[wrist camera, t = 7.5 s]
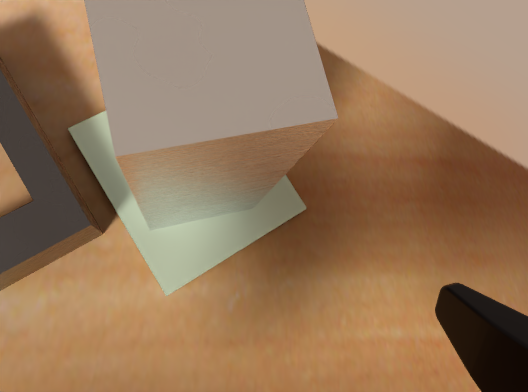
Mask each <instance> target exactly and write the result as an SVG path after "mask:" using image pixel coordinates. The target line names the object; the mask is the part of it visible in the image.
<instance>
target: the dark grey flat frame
mask: <svg viewBox="0 0 528 392" xmlns="http://www.w3.org/2000/svg"><path fill="white" fill-rule="evenodd" d="M0 143H1V144H2V146H3V148H4V150H5V151H6V153H7V155H8V157H9V158H10V160H11V162H12V164H13V165H14V167H15V169H16V171H17V172H18V174H19V176H20V178H21V179H22V181H23V183H24V185H25V186H26V188H27V190H28V192H29V193H30V195H31V197H32V199H33V200H34V201H32V202H30V203H28V204H26V205H24V206H22V207H20V208H18V209H16V210H14V211H12V212H10V213H8V214H7V215H5V216H3V217H1V218H0V291H1V290H2V289H4V288H6V287H8V286H10V285H11V284H13V283H15V282H17V281H19V280H21V279H22V278H24V277H26V276H28V275H30V274H31V273H33V272H35V271H37V270H39V269H40V268H42V267H44V266H46V265H48V264H50V263H51V262H53V261H55V260H57V259H59V258H60V257H62V256H64V255H66V254H68V253H69V252H71V251H73V250H75V249H77V248H79V247H80V246H82V245H84V244H86V243H88V242H89V241H91V240H93V239H95V238H97V237H98V236H100V235H102V234H103V233H102V231H101V230H100V228H99V226H98V224H97V223H96V221H95V219H94V218H93V216H92V214H91V212H90V211H89V209H88V207H87V206H86V204H85V202H84V200H83V199H82V197H81V195H80V194H79V192H78V190H77V188H76V187H75V185H74V183H73V182H72V180H71V178H70V176H69V175H68V173H67V171H66V170H65V168H64V166H63V164H62V163H61V161H60V159H59V158H58V156H57V154H56V152H55V151H54V149H53V147H52V146H51V144H50V142H49V140H48V139H47V137H46V135H45V134H44V132H43V130H42V128H41V127H40V125H39V123H38V122H37V120H36V118H35V116H34V115H33V113H32V111H31V110H30V108H29V106H28V104H27V103H26V101H25V99H24V98H23V96H22V94H21V92H20V91H19V89H18V87H17V86H16V84H15V82H14V80H13V79H12V77H11V75H10V74H9V72H8V70H7V68H6V67H5V65H4V63H3V62H2V60H1V58H0Z"/></svg>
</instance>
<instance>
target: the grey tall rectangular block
mask: <svg viewBox="0 0 528 392" xmlns="http://www.w3.org/2000/svg"><path fill="white" fill-rule="evenodd" d="M84 1H85V6H86V12H87V17H88V22H89V27H90V32H91V37H92V42H93V47H94V52H95V57H96V62H97V67H98V72H99V77H100V82H101V88H102V93H103V98H104V103H105V108H106V113H107V118H108V123H109V128H110V133H111V138H112V143H113V148H114V153H115V157H116V160H117V162H118V164H119V166H120V168H121V170H122V172H123V174H124V176H125V179H126V181H127V183H128V185H129V187H130V189H131V191H132V193H133V196H134V198H135V200H136V202H137V204H138V206H139V208H140V210H141V212H142V215H143V217H144V219H145V221H146V223H147V225H148V227H149V229H150V231H151V230H156V229H160V228H165V227H170V226H174V225H179V224H183V223H188V222H193V221H197V220H202V219H206V218H211V217H216V216H220V215H225V214H229V213H234V212H239V211H243V210H248V209H252V208H254V207H255V206H256V205H257V204H258V203H259V202H260V201H261V200H262V199H263V198H264V197H265V196H266V194H267V193H268V192H269V191H270V190H271V189H272V188H273V187H274V186H275V185H276V184H277V183H278V182H279V181H280V180H281V179H282V177H283V176H284V175H285V174H286V173H287V172H288V171H289V170H290V169H291V168H292V167H293V166H294V165H295V164H296V163H297V162H298V160H299V159H300V158H301V157H302V156H303V155H304V154H305V153H306V152H307V151H308V150H309V149H310V148H311V147H312V146H313V145H314V143H315V142H316V141H317V140H318V139H319V138H320V137H321V136H322V135H323V134H324V133H325V132H326V131H327V130H328V129H329V128H330V126H331V125H332V124H333V123H334V122H335V121H336V120H337V119H338V115H337V112H336V109H335V105H334V102H333V98H332V95H331V92H330V88H329V85H328V81H327V78H326V74H325V71H324V68H323V64H322V61H321V57H320V54H319V51H318V47H317V44H316V40H315V37H314V34H313V31H312V27H311V24H310V21H309V16H308V13H307V10H306V6H305V3H304V0H84Z"/></svg>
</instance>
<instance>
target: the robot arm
mask: <svg viewBox="0 0 528 392" xmlns="http://www.w3.org/2000/svg"><path fill="white" fill-rule="evenodd" d="M435 313H436V316H437V319H438V321H439V322H440V324H441V326H442V328H443V329H444V331H445V333H446V335H447V336H448V338H449V340H450V342H451V343H452V345H453V347H454V348H455V350H456V352H457V354H458V355H459V357H460V359H461V361H462V362H463V364H464V366H465V367H466V369H467V371H468V372H469V374H470V376H471V377H472V378H473V380H474V381H475V383H476V384H477V386H478V387H479V389H480V390H481V391H482V392H528V316H526V315H524V314H522V313H520V312H518V311H516V310H514V309H512V308H510V307H508V306H506V305H503V304H501V303H499V302H497V301H495V300H493V299H491V298H489V297H487V296H485V295H483V294H481V293H479V292H477V291H475V290H473V289H471V288H469V287H467V286H465V285H463V284H460V283H452V284H449V285H446V286H443V287H442V288H441V290H440V293H439V296H438V300H437V303H436V307H435Z"/></svg>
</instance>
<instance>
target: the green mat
mask: <svg viewBox="0 0 528 392" xmlns="http://www.w3.org/2000/svg"><path fill="white" fill-rule="evenodd" d="M68 130H69V132H70V134H71V135H72V137H73V139H74V140H75V142H76V144H77V145H78V147H79V149H80V150H81V152H82V154H83V156H84V157H85V159H86V161H87V162H88V164H89V166H90V167H91V169H92V171H93V173H94V174H95V176H96V178H97V179H98V181H99V183H100V184H101V186H102V188H103V190H104V191H105V193H106V195H107V196H108V198H109V200H110V201H111V203H112V205H113V206H114V208H115V210H116V212H117V213H118V215H119V217H120V218H121V220H122V222H123V223H124V225H125V227H126V229H127V230H128V232H129V234H130V235H131V237H132V239H133V240H134V242H135V244H136V246H137V247H138V249H139V251H140V252H141V254H142V256H143V257H144V259H145V261H146V262H147V264H148V266H149V268H150V269H151V271H152V273H153V274H154V276H155V278H156V279H157V281H158V283H159V285H160V286H161V288H162V290H163V291H164V293H165V295H166V296H168V295H169V294H171V293H172V292H174V291H176V290H177V289H179V288H180V287H182V286H184V285H185V284H187V283H188V282H190V281H192V280H193V279H195V278H196V277H198V276H200V275H201V274H203V273H204V272H206V271H208V270H209V269H211V268H212V267H214V266H216V265H217V264H219V263H220V262H222V261H224V260H225V259H227V258H228V257H230V256H232V255H233V254H235V253H236V252H238V251H240V250H241V249H243V248H244V247H246V246H248V245H249V244H251V243H252V242H254V241H256V240H257V239H259V238H260V237H262V236H264V235H265V234H267V233H268V232H270V231H272V230H273V229H275V228H276V227H278V226H280V225H281V224H283V223H284V222H286V221H288V220H289V219H291V218H292V217H294V216H296V215H297V214H299V213H301V212H302V211H304V210H305V209H307V208H306V206H305V204H304V203H303V201H302V200H301V198H300V197H299V195H298V193H297V192H296V190H295V189H294V187H293V185H292V184H291V182H290V181H289V179H288V178H287V176H286V174H285V175H284V176H283V177H282V179H281V180H280V181H279V182H278V183H277V184H276V185H275V186H274V187H273V188H272V189H271V190H270V191H269V192H268V193H267V194H266V196H265V197H264V198H263V199H262V200H261V201H260V202H259V203H258V204H257V205H256V206H255V207H254V208H252V209H248V210H243V211H239V212H234V213H229V214H225V215H220V216H216V217H211V218H206V219H202V220H197V221H193V222H188V223H183V224H179V225H174V226H170V227H165V228H160V229H156V230H151V231H150V229H149V227H148V225H147V223H146V221H145V219H144V217H143V215H142V212H141V210H140V208H139V206H138V204H137V202H136V200H135V198H134V196H133V193H132V191H131V189H130V187H129V185H128V183H127V181H126V179H125V176H124V174H123V172H122V170H121V168H120V166H119V164H118V162H117V160H116V157H115V153H114V148H113V143H112V138H111V133H110V128H109V123H108V118H107V113H106V111H104V112H102V113H99V114H97V115H95V116H93V117H91V118H89V119H86V120H84V121H82V122H80V123H78V124H76V125H74V126H71V127H69V128H68Z"/></svg>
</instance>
